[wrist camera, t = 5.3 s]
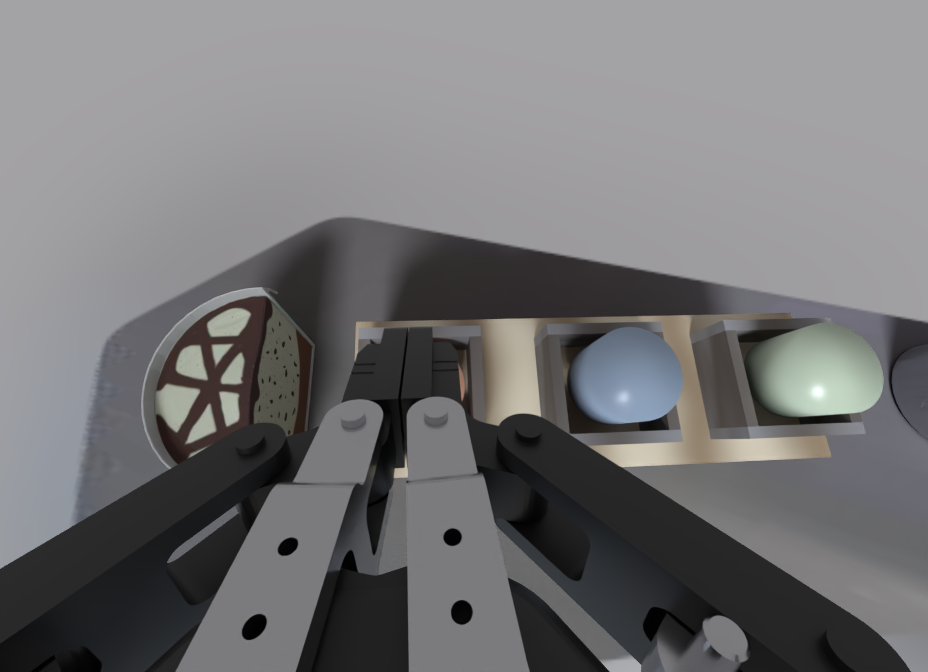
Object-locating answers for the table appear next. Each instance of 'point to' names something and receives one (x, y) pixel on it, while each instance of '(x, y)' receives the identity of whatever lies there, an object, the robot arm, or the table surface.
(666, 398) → the slate button
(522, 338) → the button console
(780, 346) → the sage button
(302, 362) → the food container
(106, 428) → the table surface
